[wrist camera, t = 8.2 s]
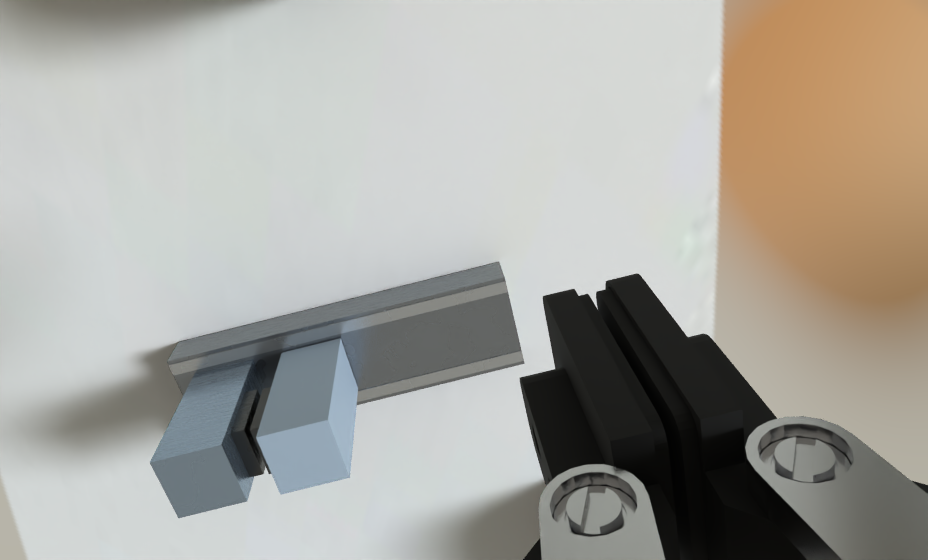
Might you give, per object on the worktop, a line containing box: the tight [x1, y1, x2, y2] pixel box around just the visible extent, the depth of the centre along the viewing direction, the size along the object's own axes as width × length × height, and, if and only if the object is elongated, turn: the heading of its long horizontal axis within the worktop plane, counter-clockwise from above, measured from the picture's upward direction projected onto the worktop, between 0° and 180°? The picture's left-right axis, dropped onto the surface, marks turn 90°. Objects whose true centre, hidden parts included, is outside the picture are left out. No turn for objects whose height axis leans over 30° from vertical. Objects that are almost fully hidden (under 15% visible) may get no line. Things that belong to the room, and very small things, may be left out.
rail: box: [150, 262, 524, 518], centre depth 34 cm, size 5×17×9 cm, turn 104°
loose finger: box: [250, 338, 358, 494], centre depth 33 cm, size 3×4×7 cm
